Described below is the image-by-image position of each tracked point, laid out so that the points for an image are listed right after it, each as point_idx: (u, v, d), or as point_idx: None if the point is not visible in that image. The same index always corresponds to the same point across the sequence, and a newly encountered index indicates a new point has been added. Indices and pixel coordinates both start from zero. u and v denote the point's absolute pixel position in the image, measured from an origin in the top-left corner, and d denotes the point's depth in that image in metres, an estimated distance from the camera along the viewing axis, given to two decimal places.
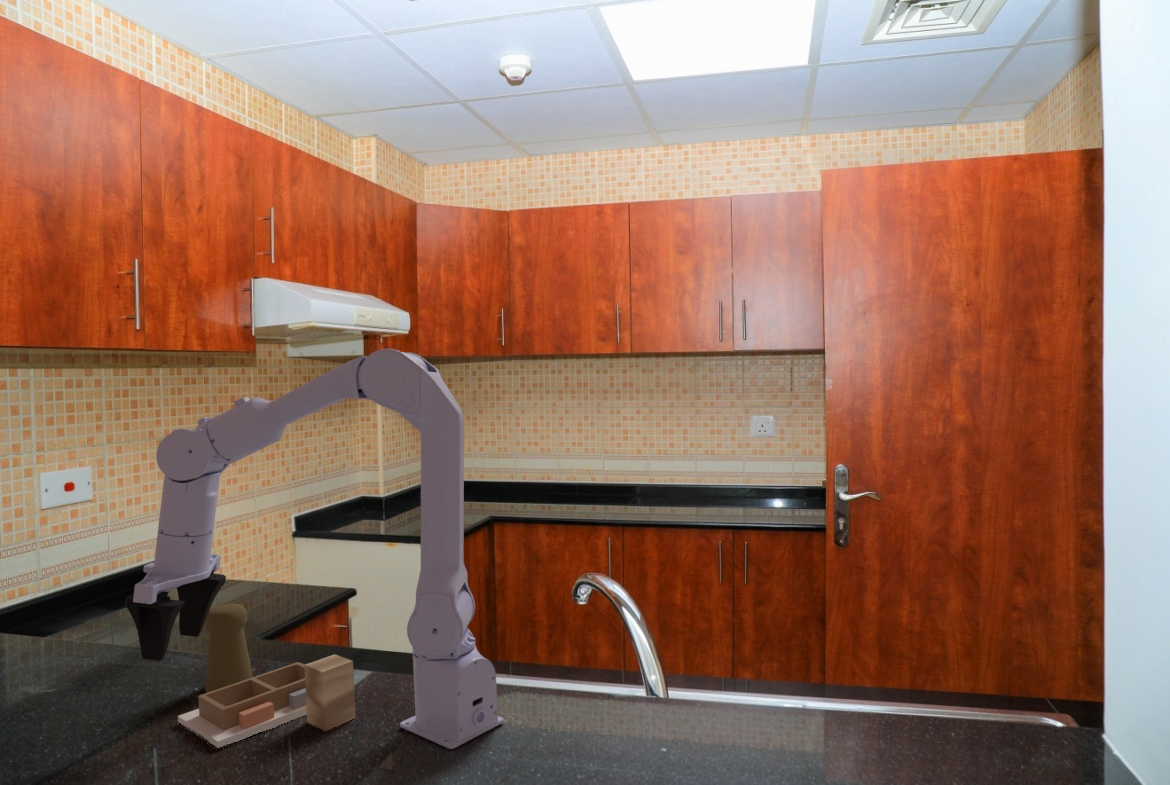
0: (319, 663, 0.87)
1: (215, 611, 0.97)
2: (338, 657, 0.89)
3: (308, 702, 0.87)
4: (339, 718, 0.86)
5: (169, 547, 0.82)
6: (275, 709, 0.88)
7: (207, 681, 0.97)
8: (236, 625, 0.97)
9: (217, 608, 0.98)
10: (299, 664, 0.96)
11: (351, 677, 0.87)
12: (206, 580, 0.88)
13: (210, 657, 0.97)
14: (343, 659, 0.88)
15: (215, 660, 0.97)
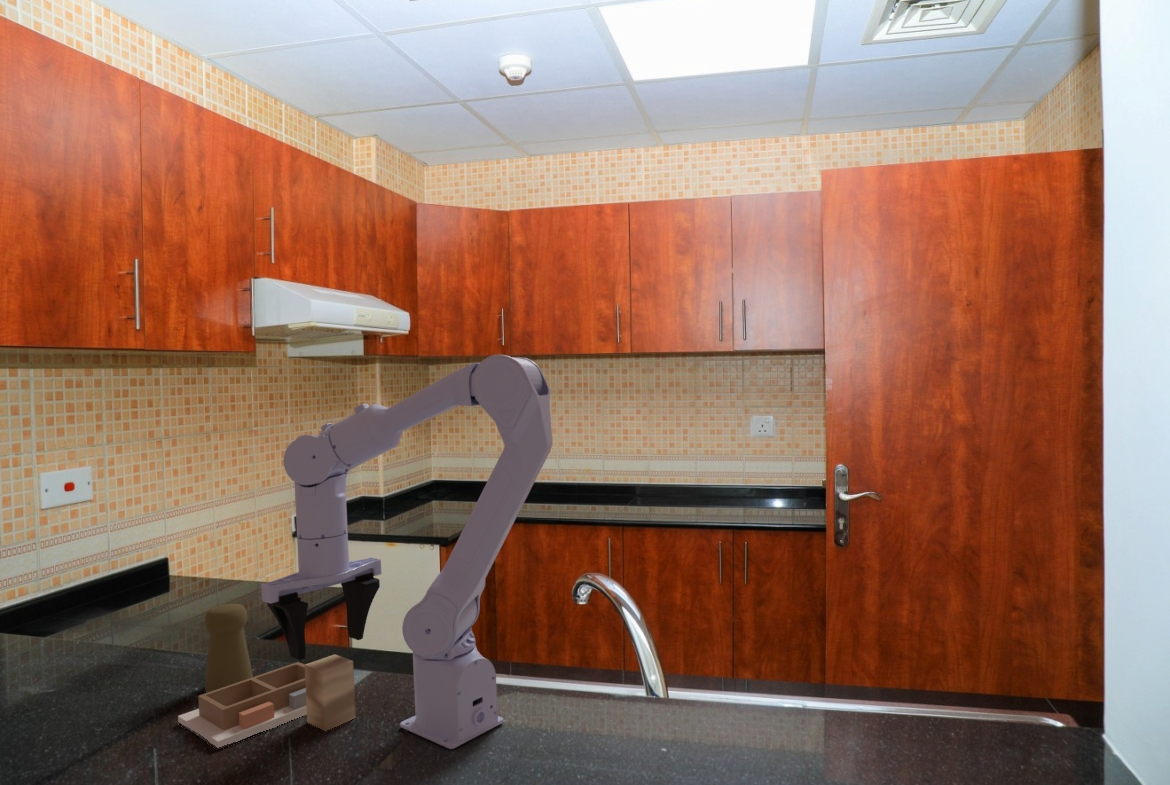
0: (319, 663, 0.87)
1: (215, 611, 0.97)
2: (338, 657, 0.89)
3: (308, 702, 0.87)
4: (339, 718, 0.86)
5: (300, 550, 0.85)
6: (275, 709, 0.88)
7: (207, 681, 0.97)
8: (236, 625, 0.97)
9: (217, 608, 0.98)
10: (299, 664, 0.96)
11: (351, 677, 0.87)
12: (358, 584, 0.89)
13: (210, 657, 0.97)
14: (343, 659, 0.88)
15: (215, 660, 0.97)
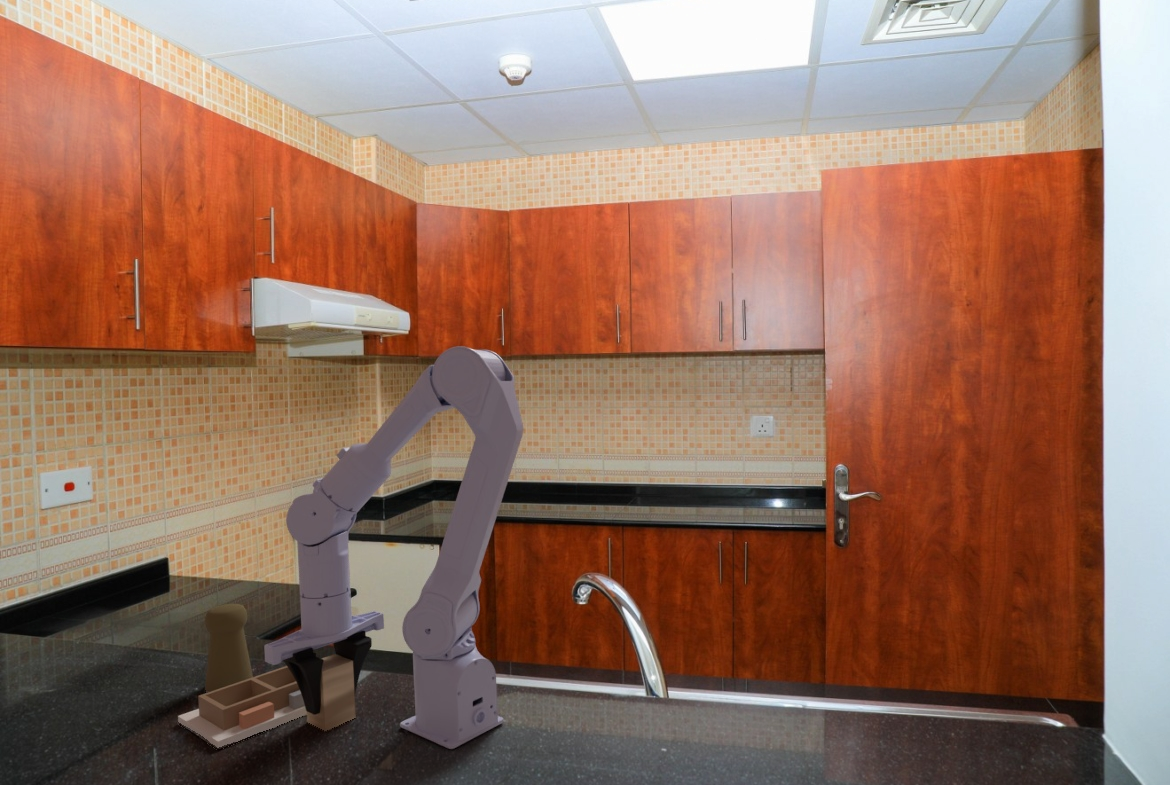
0: None
1: (215, 611, 0.97)
2: (338, 657, 0.89)
3: None
4: (339, 718, 0.86)
5: (303, 608, 0.85)
6: (275, 709, 0.88)
7: (207, 681, 0.97)
8: (236, 625, 0.97)
9: (217, 608, 0.98)
10: None
11: (351, 677, 0.87)
12: (350, 643, 0.88)
13: (210, 657, 0.97)
14: (343, 659, 0.88)
15: (215, 660, 0.97)
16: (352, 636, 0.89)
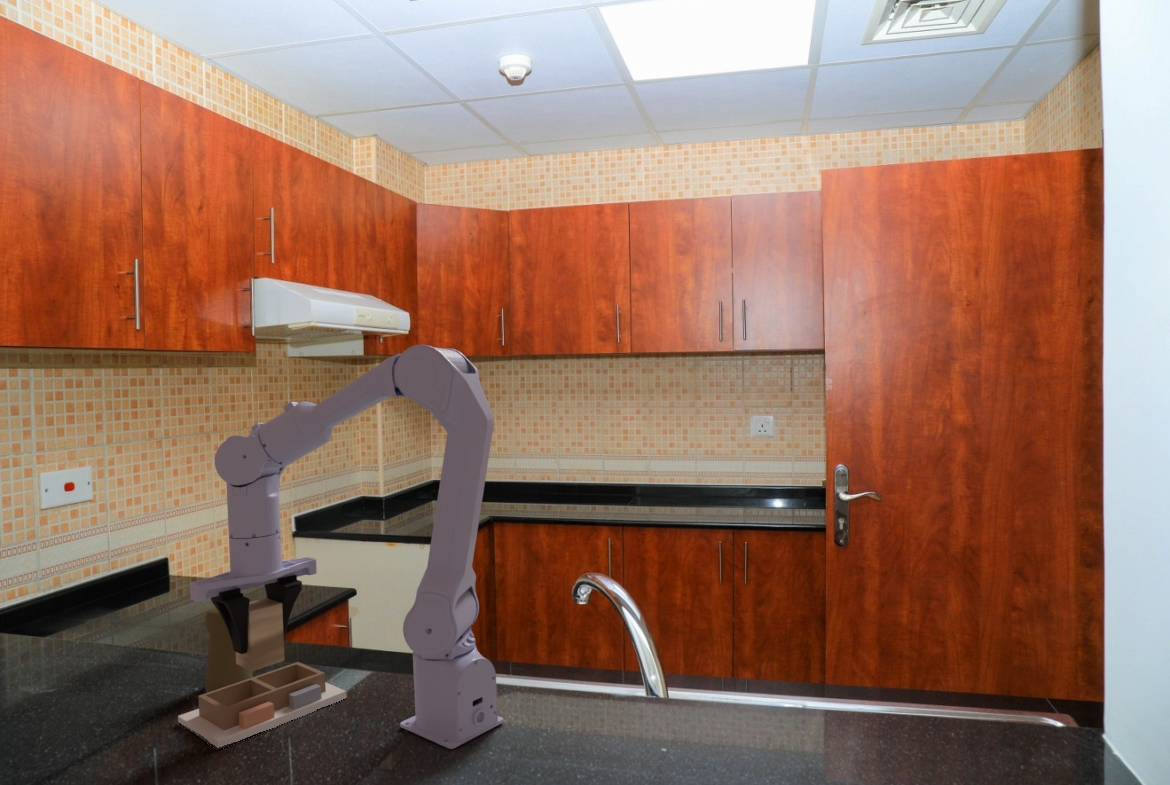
0: None
1: (215, 611, 0.97)
2: (268, 600, 0.89)
3: None
4: (267, 659, 0.86)
5: (231, 549, 0.86)
6: (275, 709, 0.88)
7: (207, 681, 0.97)
8: None
9: None
10: (299, 664, 0.96)
11: (280, 619, 0.88)
12: (279, 586, 0.89)
13: (210, 657, 0.97)
14: (273, 602, 0.89)
15: (215, 660, 0.97)
16: (282, 579, 0.89)
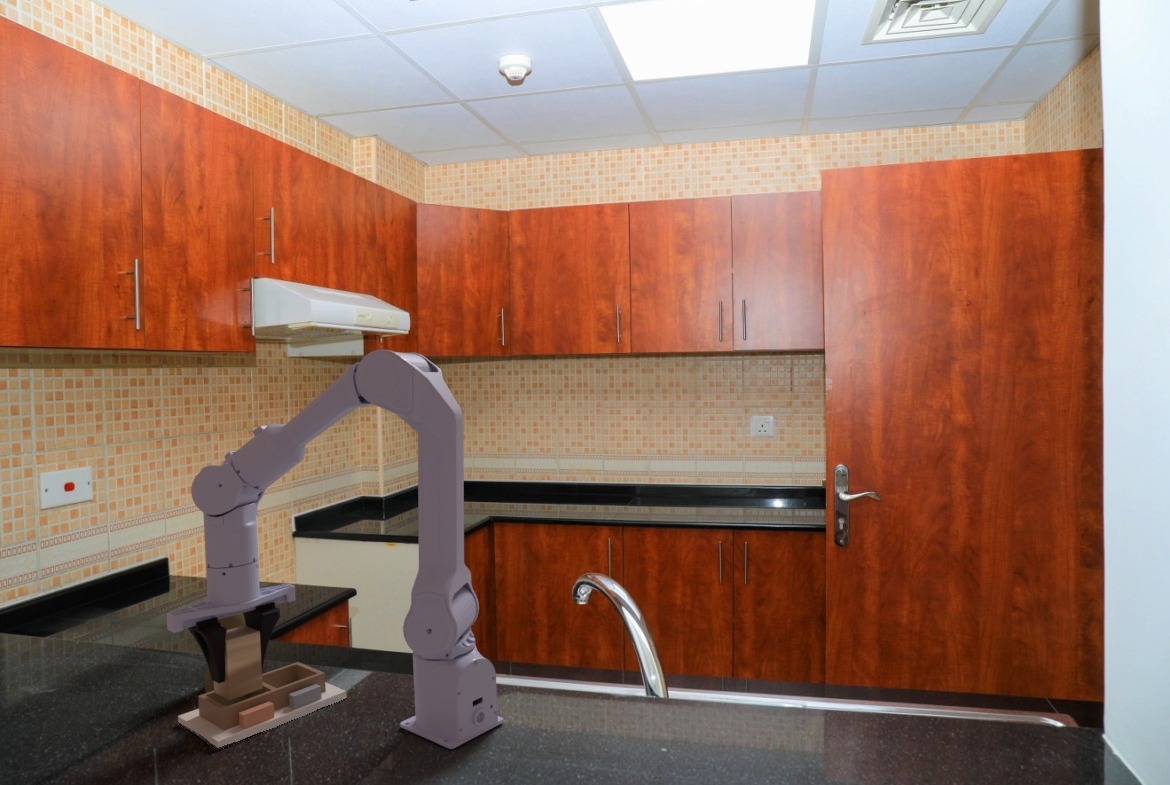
0: (226, 633, 0.88)
1: None
2: (246, 628, 0.90)
3: None
4: (244, 687, 0.87)
5: (208, 578, 0.86)
6: (275, 709, 0.88)
7: (207, 681, 0.97)
8: (236, 625, 0.97)
9: None
10: (299, 664, 0.96)
11: (258, 647, 0.88)
12: (257, 614, 0.89)
13: None
14: (251, 629, 0.89)
15: None
16: (260, 607, 0.90)
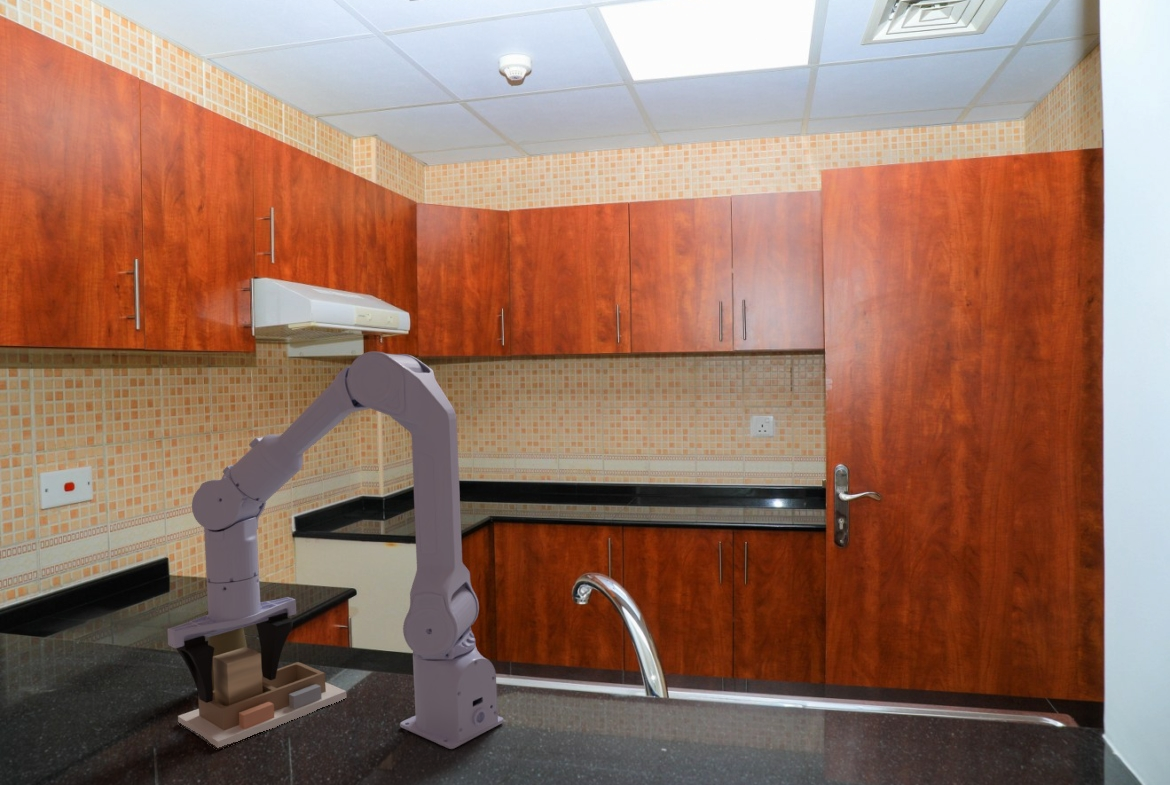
0: (227, 655, 0.88)
1: None
2: (248, 649, 0.90)
3: (215, 693, 0.88)
4: None
5: (209, 593, 0.86)
6: (275, 709, 0.88)
7: None
8: None
9: None
10: (299, 664, 0.96)
11: (259, 669, 0.88)
12: (270, 625, 0.90)
13: None
14: (252, 651, 0.89)
15: None
16: (273, 618, 0.91)
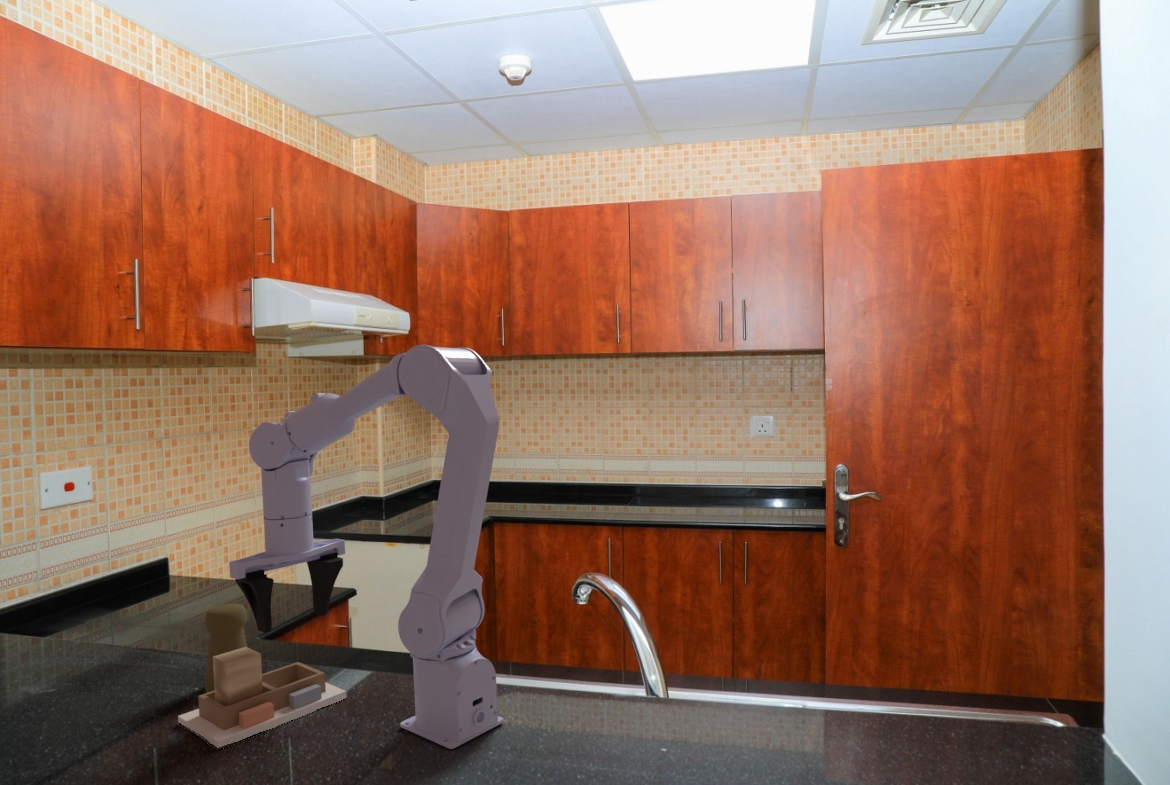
0: (227, 655, 0.88)
1: (215, 611, 0.97)
2: (248, 649, 0.90)
3: (215, 693, 0.88)
4: None
5: (266, 530, 0.90)
6: (275, 709, 0.88)
7: (207, 681, 0.97)
8: (236, 625, 0.97)
9: (217, 608, 0.98)
10: (299, 664, 0.96)
11: (259, 669, 0.88)
12: (322, 562, 0.95)
13: (210, 657, 0.97)
14: (252, 651, 0.89)
15: None
16: (325, 556, 0.95)
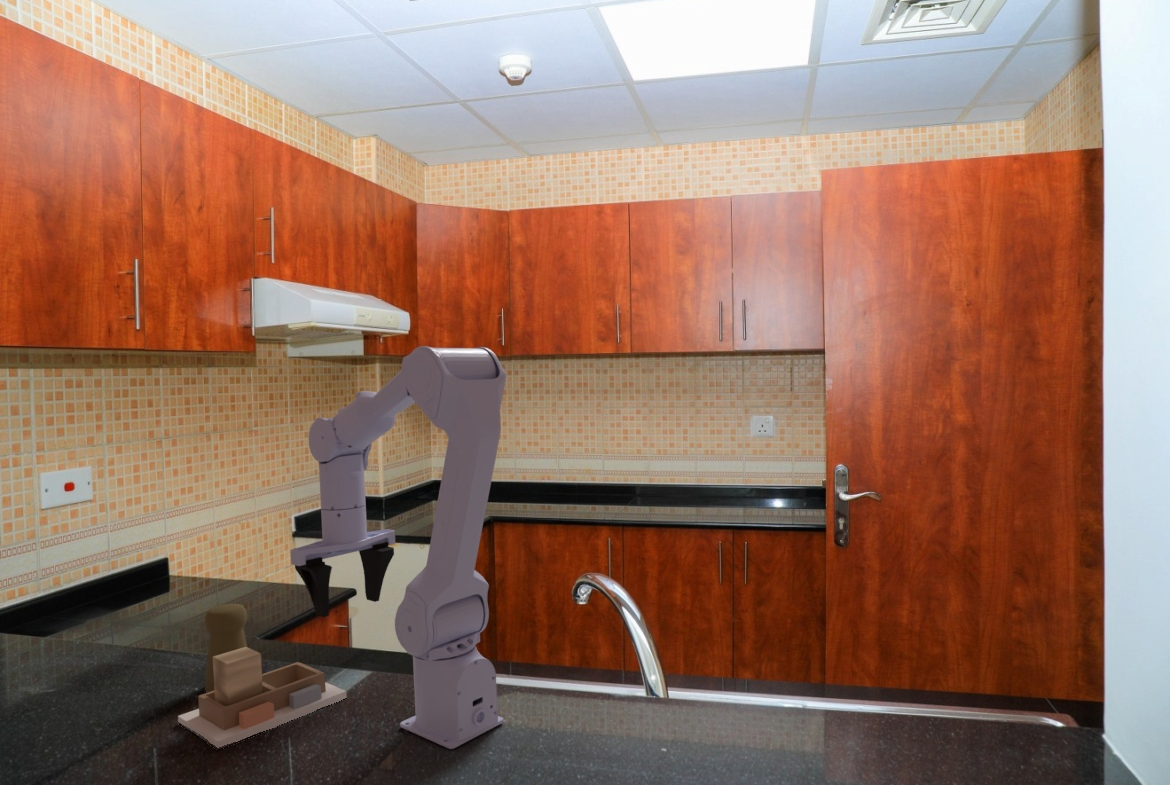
0: (227, 655, 0.88)
1: (215, 611, 0.97)
2: (248, 649, 0.90)
3: (215, 693, 0.88)
4: None
5: (324, 520, 0.95)
6: (275, 709, 0.88)
7: (207, 681, 0.97)
8: (236, 625, 0.97)
9: (217, 608, 0.98)
10: (299, 664, 0.96)
11: (259, 669, 0.88)
12: (375, 551, 1.00)
13: (210, 657, 0.97)
14: (252, 651, 0.89)
15: None
16: (377, 545, 1.00)
